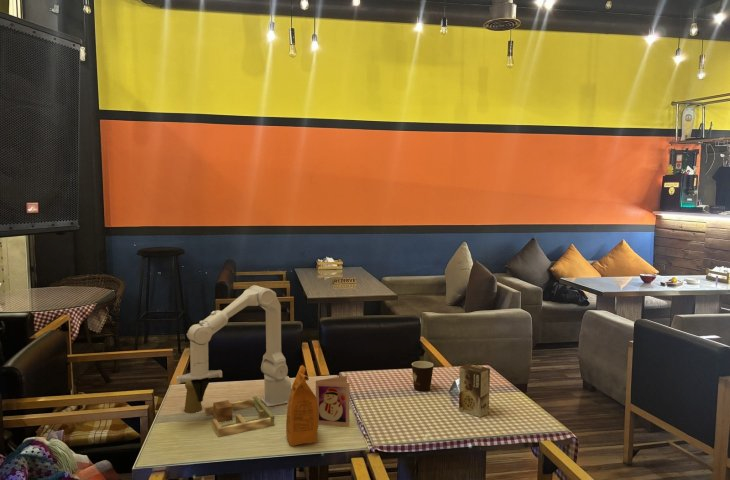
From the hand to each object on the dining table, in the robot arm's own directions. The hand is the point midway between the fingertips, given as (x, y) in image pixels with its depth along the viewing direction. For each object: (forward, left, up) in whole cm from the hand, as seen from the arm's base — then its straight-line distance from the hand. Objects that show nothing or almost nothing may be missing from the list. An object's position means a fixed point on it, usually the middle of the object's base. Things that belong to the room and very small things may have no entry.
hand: (199, 400), depth 178 cm
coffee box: (-88, +35, -8) cm, 95 cm away
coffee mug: (-85, +7, -8) cm, 86 cm away
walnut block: (-8, 0, -8) cm, 11 cm away
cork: (0, -12, -8) cm, 14 cm away
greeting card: (-40, +20, -8) cm, 45 cm away
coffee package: (-26, +26, -8) cm, 38 cm away
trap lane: (-12, +4, -8) cm, 15 cm away
